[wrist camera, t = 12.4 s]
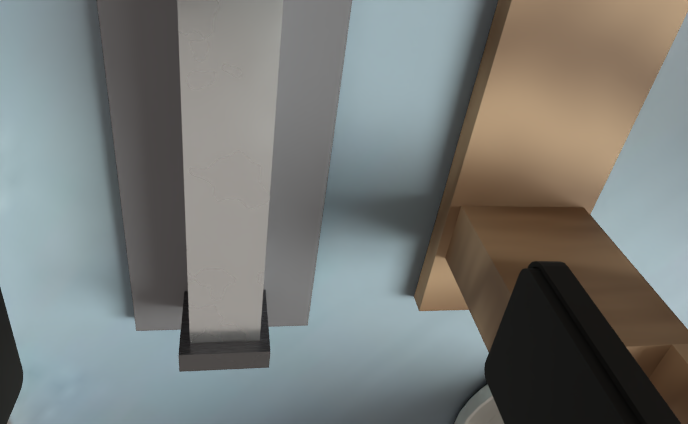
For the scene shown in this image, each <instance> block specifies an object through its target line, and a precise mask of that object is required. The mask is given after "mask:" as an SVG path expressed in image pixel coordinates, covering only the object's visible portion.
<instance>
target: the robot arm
mask: <svg viewBox="0 0 688 424" xmlns="http://www.w3.org/2000/svg"><path fill="white" fill-rule="evenodd" d="M485 378H486V381H487V385H486V386H484V387H483V388H481V389H480V390H479V391H478V392H477V393H476V394H475V395H474V396H473V397H472V398H471V399H470V400H469V401H468V402H467V403H466V405H465V406H464V407H463V409H462V410H461V411H460V413H459V415H458V417H457V419H456V421H455V423H454V424H681V422H680V421H679V420H678V418H677V417H676V416H675V414H674V413H673V411H672V410H671V409H670V407H669V406H668V404H667V403H666V402H665V400H664V399H663V398H662V396H661V395H660V393H659V392H658V391H657V389H656V388H655V386H654V385H653V384H652V382H651V381H650V379H649V378H648V377H647V375H646V374H645V373H644V371H643V370H642V368H641V367H640V366H639V364H638V363H637V361H636V360H635V359H634V357H633V356H632V354H631V353H630V352H629V350H628V349H627V348H626V346H625V345H624V343H623V342H622V341H621V339H620V338H619V336H618V335H617V334H616V332H615V331H614V329H613V328H612V327H611V325H610V324H609V323H608V321H607V320H606V318H605V317H604V316H603V314H602V313H601V311H600V310H599V309H598V307H597V306H596V305H595V303H594V302H593V300H592V299H591V298H590V296H589V295H588V293H587V292H586V291H585V289H584V288H583V286H582V285H581V284H580V282H579V281H578V280H577V278H576V277H575V275H574V274H573V273H572V271H571V270H570V268H569V267H568V266H567V265H566V264H565V263H563V262H560V261H534V262H531V263H530V264H529V266H528V268H525V269H522V270H521V271H520V273H519V276H518V278H517V281H516V283H515V286H514V289H513V291H512V294H511V296H510V299H509V302H508V304H507V307H506V310H505V312H504V315H503V317H502V320H501V323H500V325H499V328H498V331H497V333H496V336H495V338H494V341H493V344H492V346H491V349H490V352H489V354H488V357H487V359H486V362H485ZM22 382H23V370H22V366H21V362H20V358H19V354H18V351H17V347H16V343H15V340H14V336H13V332H12V329H11V325H10V321H9V318H8V314H7V310H6V307H5V303H4V299H3V296H2V292H1V288H0V424H7V422H8V419H9V417H10V414H11V412H12V410H13V407H14V405H15V403H16V400H17V398H18V395H19V393H20V390H21V387H22Z"/></svg>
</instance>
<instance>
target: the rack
mask: <svg viewBox="0 0 688 424" xmlns="http://www.w3.org/2000/svg"><path fill="white" fill-rule="evenodd" d="M687 12H688V0H498V3H497V7H496V10H495V14H494V17H493V21H492V24H491V28H490V31H489V35H488V38H487V42H486V45H485V49H484V52H483V56H482V59H481V63H480V66H479V70H478V74H477V77H476V81H475V84H474V88H473V91H472V95H471V98H470V102H469V105H468V109H467V112H466V116H465V119H464V123H463V126H462V130H461V133H460V137H459V140H458V144H457V147H456V151H455V154H454V158H453V161H452V165H451V168H450V172H449V175H448V179H447V183H446V186H445V190H444V193H443V197H442V200H441V204H440V207H439V211H438V214H437V218H436V221H435V225H434V228H433V232H432V235H431V239H430V242H429V246H428V249H427V253H426V256H425V260H424V263H423V267H422V270H421V274H420V277H419V281H418V284H417V288H416V291H415V295H414V298H415V301H416V304H417V306H418V309H419V311H438V310H469V311H470V313H471V315H472V317H473V319H474V321H475V324H476V326H477V328H478V330H479V332H480V334H481V337H482V339H483V341H484V343H485V345H486V347H487V350H488V352H490V349H491V346H492V344H493V341H494V338H495V336H496V333H497V331H498V328H499V325H500V323H501V320H502V317H503V315H504V312H505V310H506V307H507V304H508V302H509V299H510V296H511V294H512V291H513V289H514V286H515V283H516V281H517V278H518V276H519V273H520V271H521V270H522V269H525V268H528V266H529V264H530V263H531V262H534V261H560V262H563V263H565V264H566V265H567V266H568V267H569V268H570V270H571V271H572V273H573V274H574V275H575V277H576V278H577V280H578V281H579V282H580V284H581V285H582V286H583V288H584V289H585V291H586V292H587V293H588V295H589V296H590V298H591V299H592V300H593V302H594V303H595V305H596V306H597V307H598V309H599V310H600V311H601V313H602V314H603V316H604V317H605V318H606V320H607V321H608V323H609V324H610V325H611V327H612V328H613V329H614V331H615V332H616V334H617V335H618V336H619V338H620V339H621V341H622V342H623V343H624V345H625V346H626V348H627V349H628V350H629V352H630V353H631V354H632V356H633V357H634V359H635V360H636V361H637V363H638V364H639V366H640V367H641V368H642V370H643V371H644V373H645V374H646V375H647V377H648V378H649V379H650V381H651V382H652V384H653V385H654V386H655V388H656V389H657V391H658V392H659V393H660V395H661V396H662V398H663V399H664V400H665V402H666V403H667V404H668V406H669V407H670V409H671V410H672V411H673V413H674V414H675V416H676V417H677V418H678V420H679V421H680V422H681V424H688V329H687V328H686V327H685V326H684V325H683V323H682V322H681V321H680V320H679V319H678V317H677V316H676V315H675V314H674V313H673V312H672V310H671V309H670V308H669V307H668V306H667V305H666V303H665V302H664V301H663V300H662V299H661V297H660V296H659V295H658V294H657V293H656V292H655V290H654V289H653V288H652V287H651V286H650V285H649V283H648V282H647V281H646V280H645V279H644V277H643V276H642V275H641V274H640V273H639V272H638V270H637V269H636V268H635V267H634V266H633V265H632V263H631V262H630V261H629V260H628V259H627V258H626V256H625V255H624V254H623V253H622V252H621V250H620V249H619V248H618V247H617V246H616V245H615V243H614V242H613V241H612V240H611V239H610V238H609V236H608V235H607V234H606V233H605V232H604V230H603V229H602V228H601V227H600V226H599V225H598V223H597V222H596V221H595V220H594V219H593V218H592V216H591V215H590V214H591V212H592V210H593V208H594V205H595V203H596V201H597V199H598V197H599V195H600V193H601V191H602V189H603V187H604V185H605V183H606V181H607V178H608V176H609V174H610V172H611V170H612V168H613V166H614V164H615V162H616V160H617V158H618V156H619V153H620V151H621V149H622V147H623V145H624V143H625V141H626V139H627V137H628V135H629V133H630V131H631V128H632V126H633V124H634V122H635V120H636V118H637V116H638V114H639V112H640V110H641V108H642V106H643V104H644V101H645V99H646V97H647V95H648V93H649V91H650V89H651V87H652V85H653V83H654V81H655V79H656V76H657V74H658V72H659V70H660V68H661V66H662V64H663V62H664V60H665V58H666V56H667V54H668V51H669V49H670V47H671V45H672V43H673V41H674V39H675V37H676V35H677V33H678V31H679V29H680V27H681V24H682V22H683V20H684V18H685V16H686V14H687Z"/></svg>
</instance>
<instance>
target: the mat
mask: <svg viewBox="0 0 688 424" xmlns="http://www.w3.org/2000/svg"><path fill="white" fill-rule="evenodd" d="M351 5H352V0H283V13H282V28H281V42H280V57H279V71H278V85H277V100H276V114H275V128H274V143H273V157H272V171H271V186H270V200H269V214H268V229H267V243H266V257H265V272H264V286H263V290H266V302H267V315H268V327H272V326H303V325H308V318H309V311H310V304H311V296H312V289H313V282H314V274H315V267H316V260H317V253H318V245H319V238H320V231H321V224H322V216H323V209H324V202H325V194H326V187H327V180H328V173H329V165H330V158H331V151H332V143H333V136H334V129H335V122H336V114H337V107H338V100H339V92H340V85H341V78H342V71H343V63H344V56H345V49H346V41H347V34H348V27H349V20H350V12H351ZM97 8H98V16H99V24H100V33H101V41H102V49H103V58H104V66H105V74H106V83H107V91H108V99H109V108H110V116H111V124H112V133H113V141H114V149H115V158H116V166H117V174H118V183H119V191H120V199H121V208H122V216H123V224H124V233H125V241H126V249H127V258H128V266H129V274H130V283H131V291H132V299H133V308H134V316H135V324H136V331H148V330H179V329H181V323H182V312H183V300H184V291H188V277H187V250H186V223H185V196H184V169H183V142H182V115H181V88H180V61H179V34H178V7H177V0H97Z"/></svg>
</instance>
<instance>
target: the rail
mask: <svg viewBox="0 0 688 424" xmlns="http://www.w3.org/2000/svg"><path fill="white" fill-rule="evenodd" d="M177 7H178V34H179V61H180V88H181V115H182V142H183V169H184V196H185V223H186V250H187V277H188V291H184V300H183V312H182V323H181V335H180V346H179V370H180V371H201V370H223V369H244V368H266V367H269V360H270V342H269V329H268V315H267V302H266V290H263V286H264V272H265V257H266V243H267V229H268V214H269V200H270V186H271V171H272V157H273V143H274V128H275V114H276V100H277V85H278V71H279V57H280V42H281V28H282V13H283V0H177Z"/></svg>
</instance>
